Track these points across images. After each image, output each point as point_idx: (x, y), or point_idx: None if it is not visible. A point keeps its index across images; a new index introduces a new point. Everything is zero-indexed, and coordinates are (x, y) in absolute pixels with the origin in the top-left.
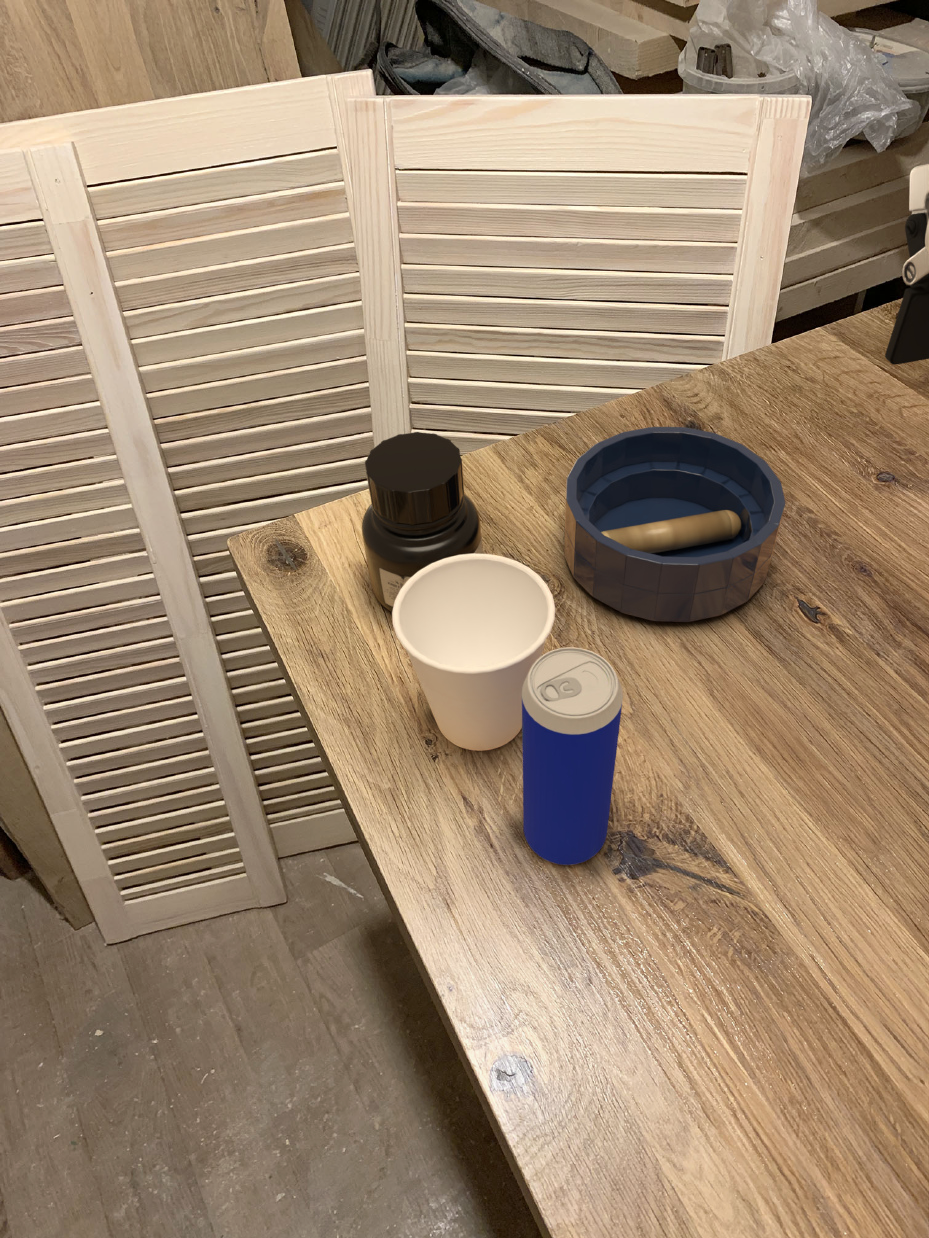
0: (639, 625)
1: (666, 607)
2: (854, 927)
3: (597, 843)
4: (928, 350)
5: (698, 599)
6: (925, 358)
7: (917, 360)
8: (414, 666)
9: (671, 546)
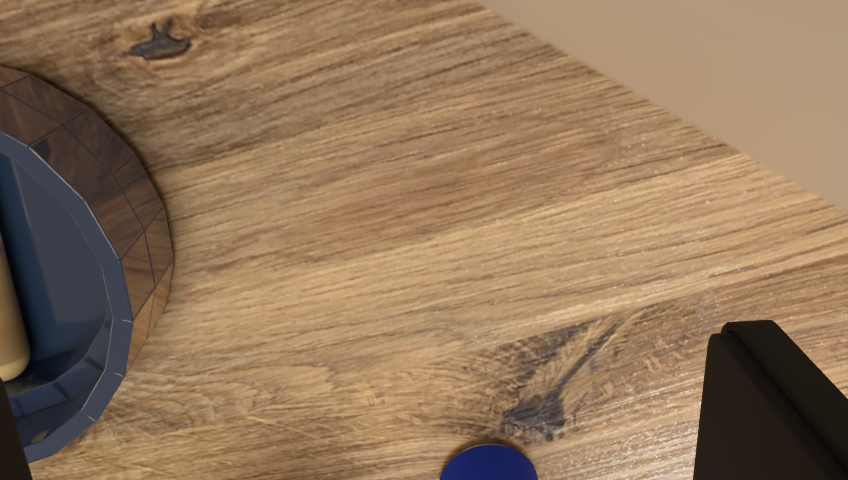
0: (163, 317)
1: (159, 307)
2: (697, 216)
3: (534, 478)
4: (1, 467)
5: (157, 270)
6: (20, 447)
7: (28, 471)
8: None
9: (3, 253)
